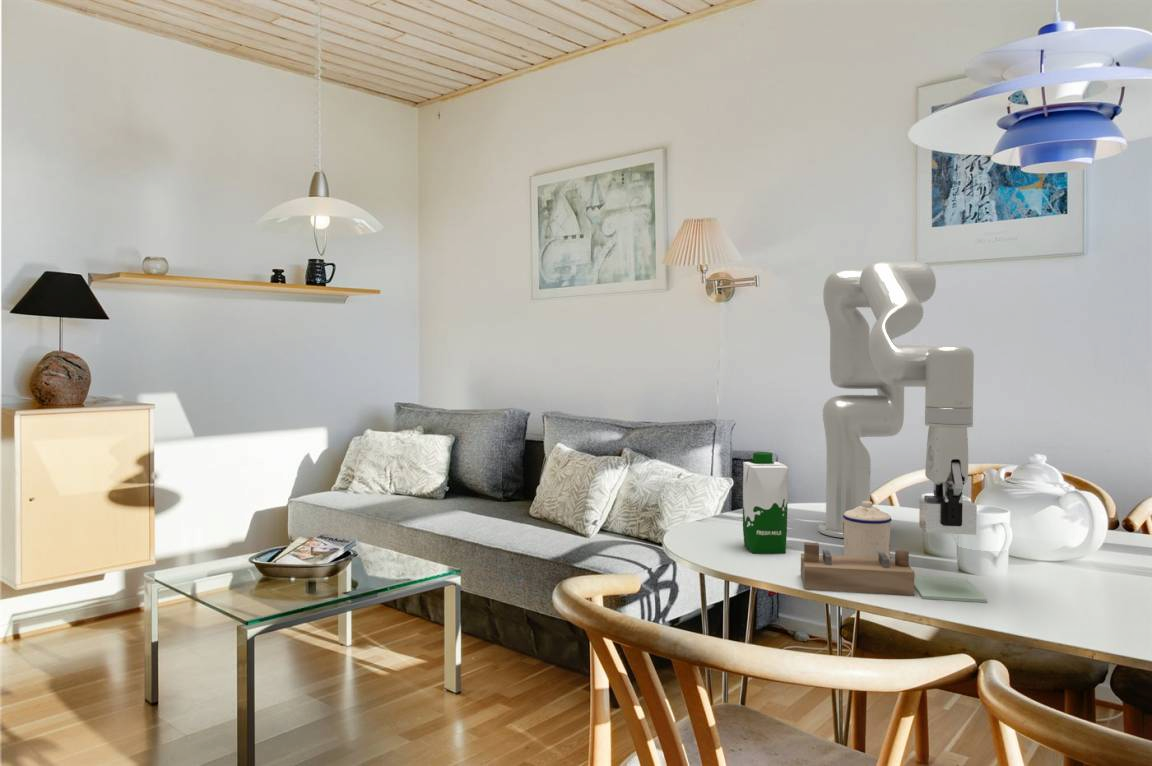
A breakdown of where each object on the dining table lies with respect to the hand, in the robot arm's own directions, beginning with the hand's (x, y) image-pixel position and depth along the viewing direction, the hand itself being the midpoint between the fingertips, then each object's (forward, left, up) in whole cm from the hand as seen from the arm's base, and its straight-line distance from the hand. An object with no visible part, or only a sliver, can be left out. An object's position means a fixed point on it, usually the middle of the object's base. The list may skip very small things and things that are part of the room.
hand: (947, 521), depth 138 cm
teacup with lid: (-20, -11, -12) cm, 26 cm away
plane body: (0, -15, -12) cm, 19 cm away
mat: (0, 0, -12) cm, 12 cm away
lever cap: (0, 0, -2) cm, 2 cm away
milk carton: (-23, -30, -12) cm, 40 cm away
